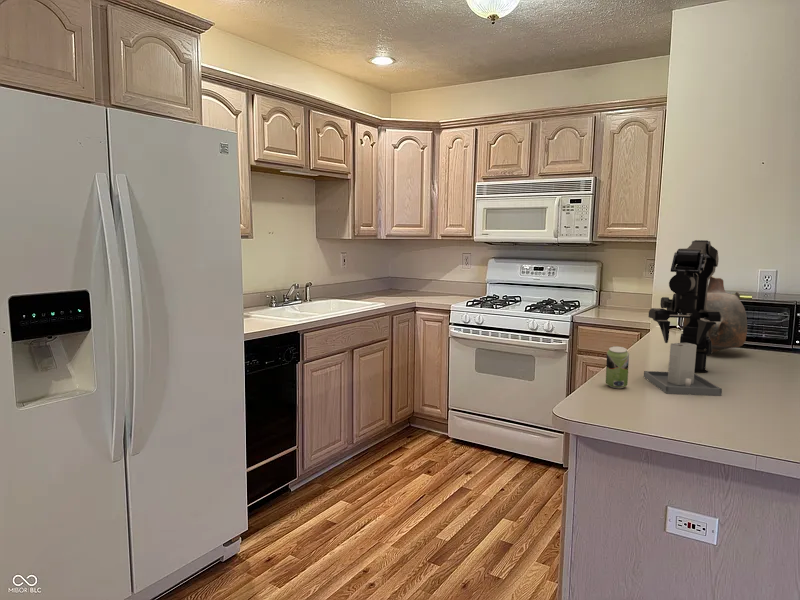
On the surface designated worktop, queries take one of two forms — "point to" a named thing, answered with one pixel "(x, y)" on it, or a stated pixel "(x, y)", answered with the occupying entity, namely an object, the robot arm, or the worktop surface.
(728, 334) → the jug
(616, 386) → the beverage can
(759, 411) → the worktop surface
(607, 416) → the worktop surface
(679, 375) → the skincare box
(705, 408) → the worktop surface
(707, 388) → the tray
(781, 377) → the worktop surface
